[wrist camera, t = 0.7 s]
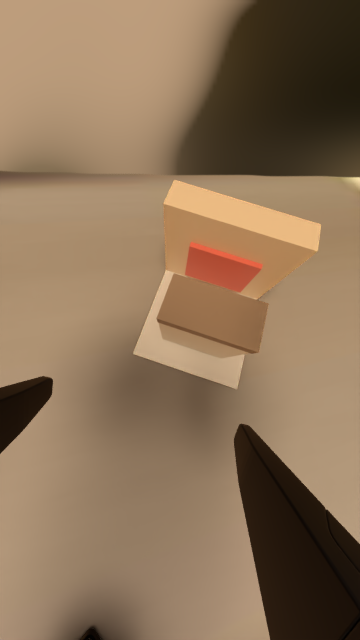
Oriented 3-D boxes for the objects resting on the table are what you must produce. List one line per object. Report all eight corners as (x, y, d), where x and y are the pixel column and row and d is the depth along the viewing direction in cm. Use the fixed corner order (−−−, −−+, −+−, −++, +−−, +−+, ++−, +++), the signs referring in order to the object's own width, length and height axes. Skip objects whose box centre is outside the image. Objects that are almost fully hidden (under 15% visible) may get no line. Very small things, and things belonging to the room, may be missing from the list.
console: (235, 388, 23) (297, 408, 12) (133, 354, 23) (100, 341, 12) (259, 282, 27) (321, 223, 16) (172, 255, 28) (174, 178, 16)
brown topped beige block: (221, 359, 23) (258, 352, 13) (162, 339, 23) (156, 318, 14) (229, 329, 24) (268, 303, 14) (172, 310, 24) (173, 273, 15)
